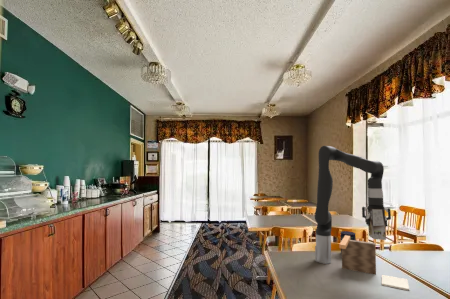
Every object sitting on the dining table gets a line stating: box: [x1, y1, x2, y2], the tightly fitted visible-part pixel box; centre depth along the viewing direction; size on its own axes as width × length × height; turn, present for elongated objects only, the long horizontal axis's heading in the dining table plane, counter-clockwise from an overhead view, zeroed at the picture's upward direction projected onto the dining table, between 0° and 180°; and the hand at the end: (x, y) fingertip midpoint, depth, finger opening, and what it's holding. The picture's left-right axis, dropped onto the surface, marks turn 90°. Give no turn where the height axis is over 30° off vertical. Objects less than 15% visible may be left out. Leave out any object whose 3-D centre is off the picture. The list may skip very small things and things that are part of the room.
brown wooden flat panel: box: [341, 240, 377, 276], centre depth 162 cm, size 18×3×17 cm, turn 60°
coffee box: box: [367, 208, 387, 241], centre depth 150 cm, size 9×6×16 cm
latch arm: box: [338, 235, 350, 250], centre depth 157 cm, size 3×24×2 cm, turn 150°
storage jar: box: [340, 230, 357, 255], centre depth 193 cm, size 10×10×15 cm
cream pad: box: [381, 274, 410, 291], centre depth 145 cm, size 12×14×1 cm
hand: (376, 226), depth 150 cm, fingers closed on coffee box, 7 cm apart
